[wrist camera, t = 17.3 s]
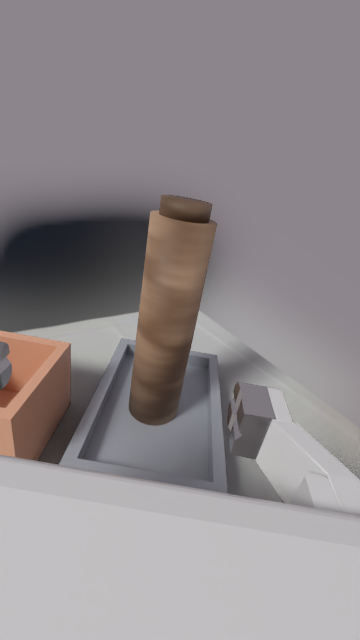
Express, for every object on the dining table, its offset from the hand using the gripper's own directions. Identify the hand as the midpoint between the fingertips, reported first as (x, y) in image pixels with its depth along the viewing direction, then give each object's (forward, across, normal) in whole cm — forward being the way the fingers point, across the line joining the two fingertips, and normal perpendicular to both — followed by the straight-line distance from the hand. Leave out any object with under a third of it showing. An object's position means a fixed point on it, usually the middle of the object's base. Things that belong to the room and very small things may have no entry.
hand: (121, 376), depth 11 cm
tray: (+14, -1, +15) cm, 20 cm away
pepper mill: (+14, 0, +14) cm, 20 cm away
